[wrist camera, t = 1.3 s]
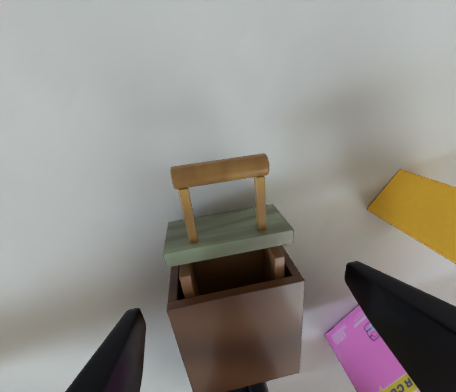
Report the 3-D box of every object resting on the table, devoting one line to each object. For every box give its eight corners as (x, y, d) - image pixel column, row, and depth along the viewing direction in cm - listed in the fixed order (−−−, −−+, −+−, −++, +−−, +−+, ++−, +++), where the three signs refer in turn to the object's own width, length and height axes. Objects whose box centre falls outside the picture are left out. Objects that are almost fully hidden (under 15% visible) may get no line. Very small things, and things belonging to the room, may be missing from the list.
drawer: (151, 158, 16) (140, 176, 12) (271, 141, 17) (295, 153, 13) (191, 314, 23) (192, 356, 19) (274, 295, 24) (291, 332, 20)
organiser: (172, 256, 21) (166, 310, 15) (276, 236, 22) (305, 280, 16) (194, 338, 26) (195, 400, 20) (277, 318, 27) (299, 372, 22)
